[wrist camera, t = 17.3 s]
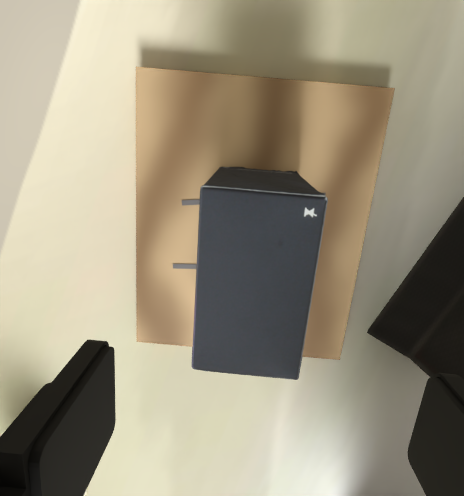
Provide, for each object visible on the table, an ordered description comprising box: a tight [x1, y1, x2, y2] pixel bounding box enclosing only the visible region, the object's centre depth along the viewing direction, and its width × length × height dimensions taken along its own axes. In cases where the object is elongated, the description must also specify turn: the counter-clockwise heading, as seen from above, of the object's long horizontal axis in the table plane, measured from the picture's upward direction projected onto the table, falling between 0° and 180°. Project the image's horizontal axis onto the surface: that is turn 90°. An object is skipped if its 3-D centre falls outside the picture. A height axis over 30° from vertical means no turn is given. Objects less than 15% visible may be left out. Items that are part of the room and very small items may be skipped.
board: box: [136, 67, 395, 360], centre depth 28 cm, size 18×22×2 cm
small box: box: [192, 166, 328, 380], centre depth 23 cm, size 11×6×10 cm, turn 176°
